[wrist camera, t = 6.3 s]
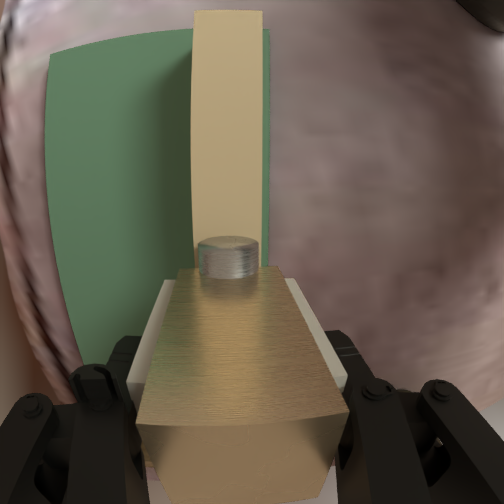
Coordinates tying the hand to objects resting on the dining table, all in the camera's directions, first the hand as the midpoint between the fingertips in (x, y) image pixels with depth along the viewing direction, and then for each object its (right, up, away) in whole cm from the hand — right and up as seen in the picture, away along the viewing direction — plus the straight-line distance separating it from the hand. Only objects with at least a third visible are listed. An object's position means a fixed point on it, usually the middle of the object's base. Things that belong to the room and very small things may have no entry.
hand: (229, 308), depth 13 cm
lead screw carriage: (-3, -6, +7) cm, 9 cm away
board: (-5, 0, +6) cm, 8 cm away
